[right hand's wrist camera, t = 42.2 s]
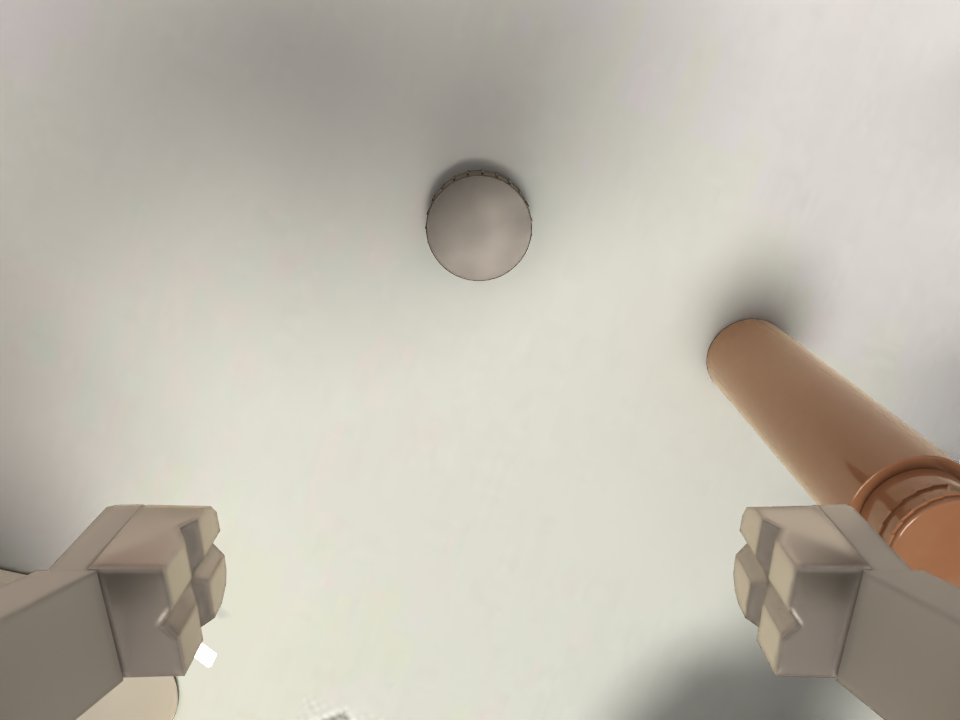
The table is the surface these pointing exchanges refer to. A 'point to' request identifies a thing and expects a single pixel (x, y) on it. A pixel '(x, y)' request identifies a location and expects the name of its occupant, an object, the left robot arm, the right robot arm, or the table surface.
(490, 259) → the lid
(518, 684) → the table surface
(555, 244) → the table surface
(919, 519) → the jar
